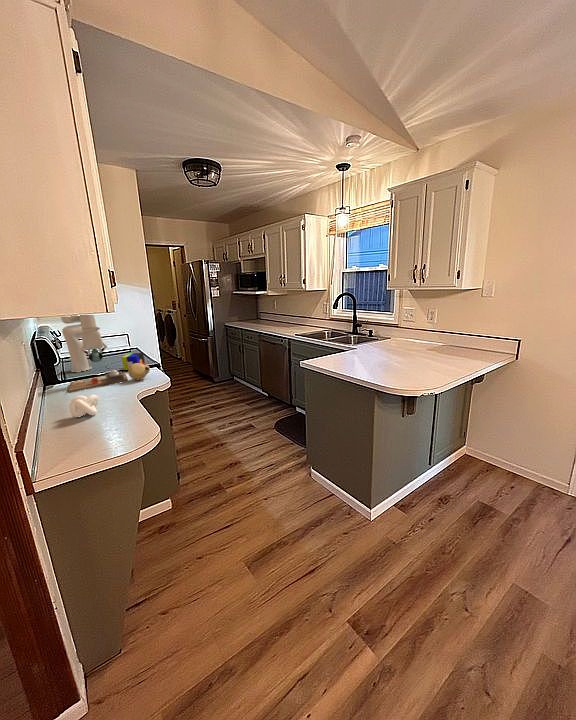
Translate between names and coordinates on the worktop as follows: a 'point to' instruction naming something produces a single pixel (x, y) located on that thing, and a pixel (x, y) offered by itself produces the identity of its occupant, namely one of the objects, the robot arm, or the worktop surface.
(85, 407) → the white knot
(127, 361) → the puzzle toy
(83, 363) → the robot arm
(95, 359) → the pawn
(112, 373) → the dome
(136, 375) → the toy pig
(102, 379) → the game board
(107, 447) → the worktop surface
